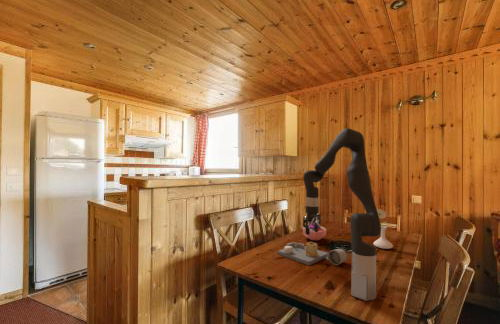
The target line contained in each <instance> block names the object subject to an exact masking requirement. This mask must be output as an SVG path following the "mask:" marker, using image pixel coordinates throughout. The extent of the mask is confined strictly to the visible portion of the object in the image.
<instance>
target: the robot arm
mask: <svg viewBox="0 0 500 324" xmlns="http://www.w3.org/2000/svg"><path fill="white" fill-rule="evenodd" d="M342 148H347V149H349V150H350V153H351V161H350V163H349V165H348V167H347V170H346V177H347V184H348V185H347V186H348V187H349V190H350V191H351V192H352V193H353V194H354V196H355V197H357V199H358V200H359V201H360V202H361V204H362V205H363V208H364V210H365V213H361V212H357V213H356V212H355V213H352V214H351V215H350V220H349V222H350V223H349V226H350V243H351V244H350V245H351V262H350V263H351V264H350V265H351V267H350V268H351V271H350V272H351V274H350V276H351V277H350V278H351V279H350V280H351V283H350V284H351V285H350V286H351V287H350V288H351V289H350V295H351V296H353V297H355V298H357V299H359V300H362V301H365V302H368V301H373V300H375V299H377V249H376V246H375V245H374V244H371V243H369V242H366V241H364V240H363V237H370V238H371V237H372V238H373V237H379V236H381V225H382V223H381V220H380V219H381V218H379V215H378V212H377V209H378V208H377V207H376V202H375V199H374V194H373V189H372V183H371V177H370V173H369V169H368V163H367V157H366V147H365V139H364V136H363V134H362V133H361V132H359V131H357V130H354V129H352V128H350V127H349V128H348V127H346V128H343V129H341V131H339V133H338V134H337V136H336V137H335V139H334V140H333V141H332V143H331V144H330V146H329V148H328V149H327V151H326V152H325V154H323V156H322V157H321V158H320V159H319V160H318V161H317V162H316V163H315V165H314V169H313V170H306V171H304V173H303V177H302V178H303V182H304V183H303V184H304V186H305V187H304V188H305V214H306V215H303V219H302V227H305V228H306V234H307V235H309V234H310V225H312V223H314V231H315V232H318V226H320V225H321V223H322V222H321V220H322V219H321V218H322V217H321V213H320V199H319V193H320V191H319V188H318V187H317V186H315V184H314V183H319V182H320V181H321V180H323V178H324V176H325V174H326V172H328V170H330V169H331V167H332V166H333V165H334V164H335V161H336V157H337V154H338V152H339V151H340V150H341V149H342ZM380 223H381V224H380Z"/></svg>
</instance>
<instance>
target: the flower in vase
mask: <svg viewBox="0 0 500 324" xmlns="http://www.w3.org/2000/svg"><path fill="white" fill-rule="evenodd" d="M376 209H377V212H378V215H379V219H386V217H387V216H388V215H387V212H386V211H385V210H383V209H380V208H376ZM387 223H388V221H386V222H382V223H381V222H380V224H381V233H380V237H379V238H378V239H376V240H375V241H373V244H372V245H373V246H374V247H375V248H376V247H377V248H380V249H384V250H387V249H388V250H389V249H393V247H394V245H393V244H392V243H391V242H390V241H389V240H388V239H387V237H386V230H387V228H388V226H385V224H387Z"/></svg>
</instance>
